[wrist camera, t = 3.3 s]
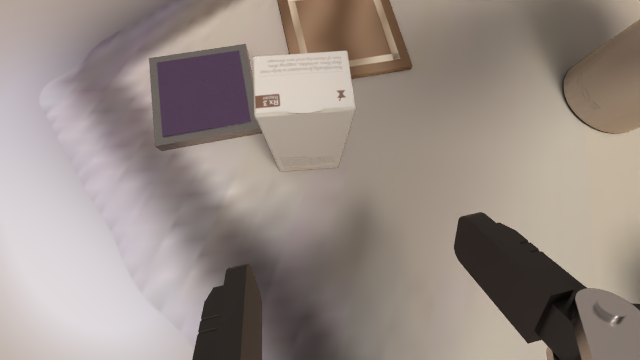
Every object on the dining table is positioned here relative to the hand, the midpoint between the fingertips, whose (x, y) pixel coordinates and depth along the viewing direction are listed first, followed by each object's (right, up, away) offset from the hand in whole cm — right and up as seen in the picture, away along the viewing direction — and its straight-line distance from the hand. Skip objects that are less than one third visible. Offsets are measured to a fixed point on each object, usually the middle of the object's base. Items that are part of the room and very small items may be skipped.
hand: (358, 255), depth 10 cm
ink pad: (-13, +11, +18) cm, 25 cm away
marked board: (+1, +20, +21) cm, 30 cm away
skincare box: (-3, +6, +18) cm, 19 cm away
